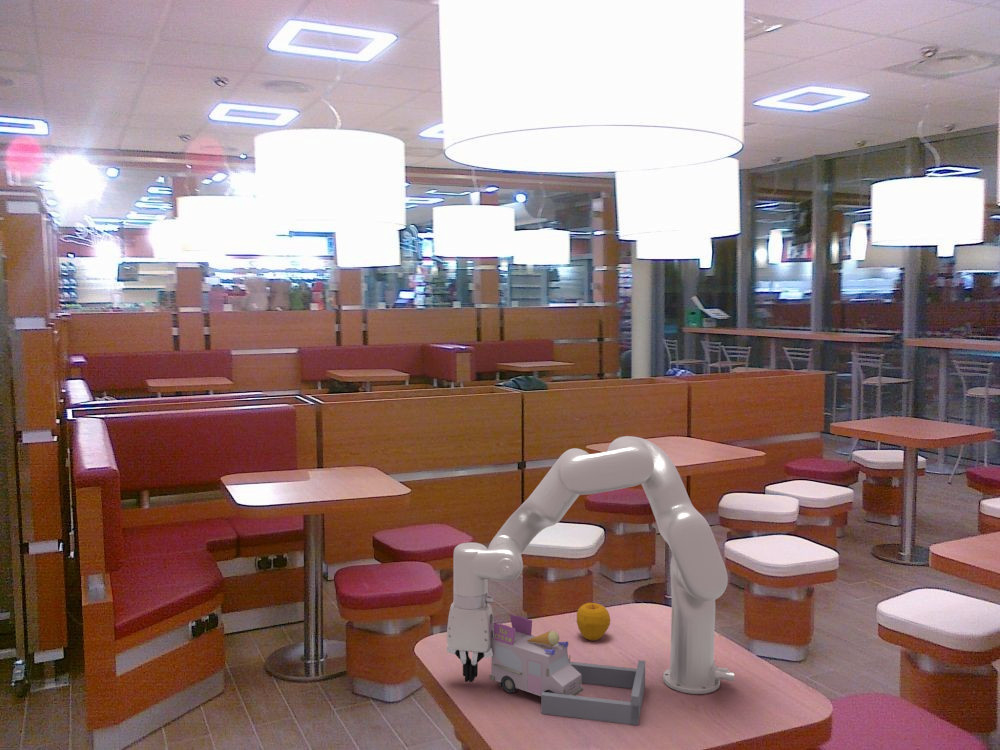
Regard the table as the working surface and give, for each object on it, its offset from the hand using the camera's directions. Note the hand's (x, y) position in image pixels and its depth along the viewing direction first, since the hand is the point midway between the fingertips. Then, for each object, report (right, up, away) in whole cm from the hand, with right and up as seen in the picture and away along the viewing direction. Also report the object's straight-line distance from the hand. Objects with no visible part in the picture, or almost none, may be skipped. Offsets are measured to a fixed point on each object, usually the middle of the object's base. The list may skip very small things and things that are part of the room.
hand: (470, 679), depth 194 cm
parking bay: (+27, -2, -7) cm, 28 cm away
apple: (+30, +1, +28) cm, 41 cm away
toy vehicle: (+14, -2, -3) cm, 15 cm away
